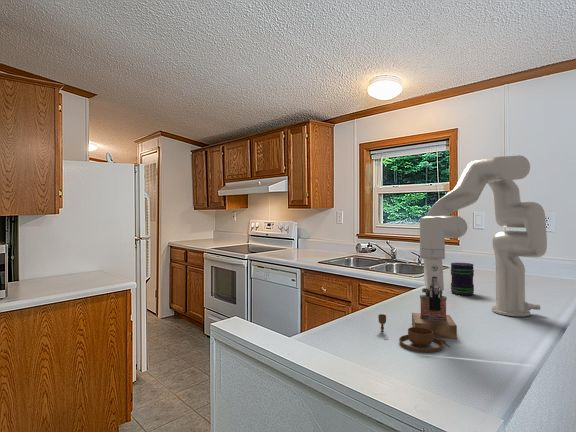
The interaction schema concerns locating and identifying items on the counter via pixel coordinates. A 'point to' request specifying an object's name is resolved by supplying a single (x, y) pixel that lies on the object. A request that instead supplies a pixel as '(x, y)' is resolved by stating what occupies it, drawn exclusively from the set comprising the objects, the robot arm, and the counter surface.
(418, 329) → the place setting
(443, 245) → the robot arm
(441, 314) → the lighter
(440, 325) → the walnut base
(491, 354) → the counter surface
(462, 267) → the storage jar
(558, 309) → the counter surface
